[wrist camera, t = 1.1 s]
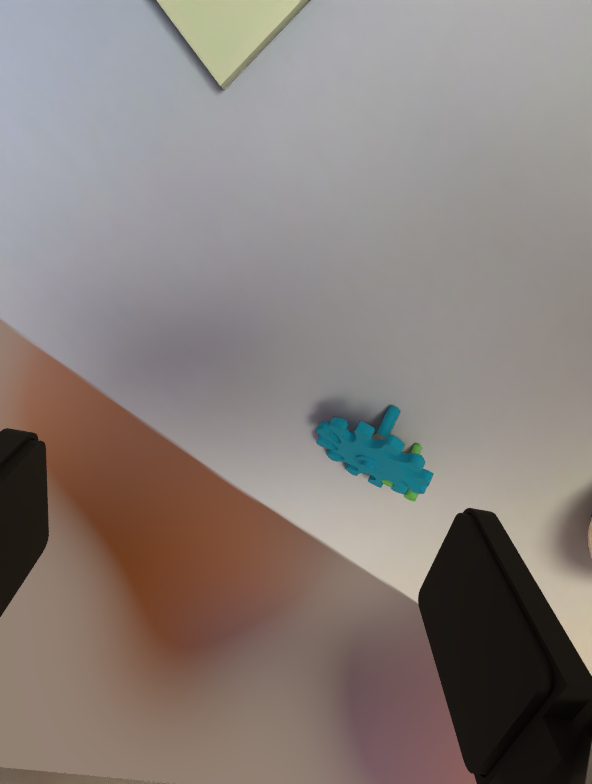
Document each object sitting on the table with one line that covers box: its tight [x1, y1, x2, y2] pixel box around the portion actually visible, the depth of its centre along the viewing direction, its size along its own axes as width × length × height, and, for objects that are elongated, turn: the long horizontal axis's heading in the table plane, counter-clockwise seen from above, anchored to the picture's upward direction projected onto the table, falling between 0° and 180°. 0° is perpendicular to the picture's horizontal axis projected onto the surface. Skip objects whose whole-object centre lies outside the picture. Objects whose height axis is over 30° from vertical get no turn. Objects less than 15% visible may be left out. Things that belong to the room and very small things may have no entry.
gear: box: [316, 406, 433, 501], centre depth 37 cm, size 11×6×10 cm
